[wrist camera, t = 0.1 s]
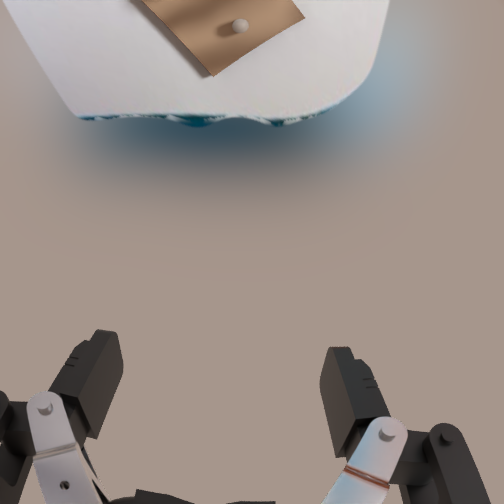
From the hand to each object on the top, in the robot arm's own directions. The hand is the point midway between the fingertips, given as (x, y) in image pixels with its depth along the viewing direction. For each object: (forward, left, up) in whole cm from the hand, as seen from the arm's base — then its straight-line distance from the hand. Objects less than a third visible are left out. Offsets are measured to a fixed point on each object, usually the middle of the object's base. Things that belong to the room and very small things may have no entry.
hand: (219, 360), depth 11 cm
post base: (-12, +5, -31) cm, 34 cm away
